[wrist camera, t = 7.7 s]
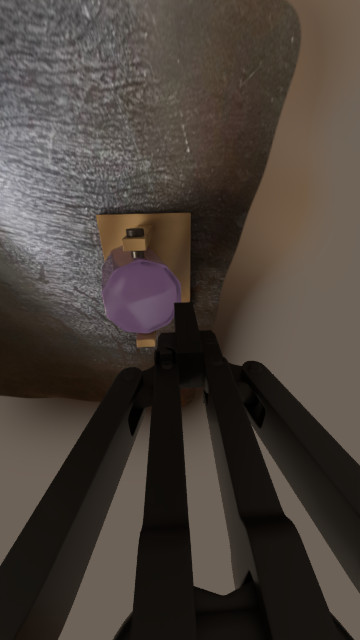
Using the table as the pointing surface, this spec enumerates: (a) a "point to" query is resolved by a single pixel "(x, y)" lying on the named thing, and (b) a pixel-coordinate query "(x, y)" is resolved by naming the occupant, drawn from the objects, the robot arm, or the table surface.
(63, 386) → the table surface
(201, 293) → the table surface
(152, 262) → the cup
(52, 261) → the table surface
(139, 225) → the swivel stand
